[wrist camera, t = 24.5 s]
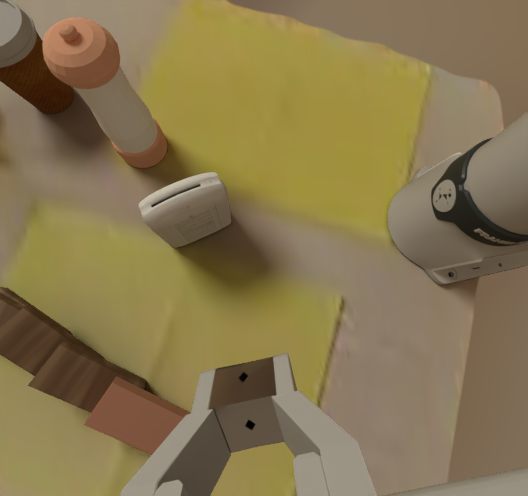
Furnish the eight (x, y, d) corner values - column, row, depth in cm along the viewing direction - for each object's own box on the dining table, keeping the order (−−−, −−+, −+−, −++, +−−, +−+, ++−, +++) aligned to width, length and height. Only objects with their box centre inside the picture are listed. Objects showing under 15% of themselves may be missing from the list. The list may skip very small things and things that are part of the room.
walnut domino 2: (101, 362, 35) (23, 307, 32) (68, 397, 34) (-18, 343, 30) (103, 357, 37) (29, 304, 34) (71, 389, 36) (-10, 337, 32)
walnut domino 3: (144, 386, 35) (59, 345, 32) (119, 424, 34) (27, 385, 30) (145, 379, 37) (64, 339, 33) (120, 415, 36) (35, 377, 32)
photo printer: (224, 199, 43) (214, 157, 30) (236, 224, 42) (230, 190, 30) (161, 227, 41) (124, 194, 29) (172, 253, 40) (139, 229, 28)
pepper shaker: (111, 154, 43) (4, 37, 24) (138, 119, 45) (57, -17, 26) (150, 176, 43) (72, 73, 24) (176, 140, 44) (122, 17, 26)
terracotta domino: (194, 423, 34) (113, 382, 32) (170, 463, 33) (84, 424, 31) (193, 414, 36) (116, 376, 34) (171, 452, 35) (89, 415, 33)
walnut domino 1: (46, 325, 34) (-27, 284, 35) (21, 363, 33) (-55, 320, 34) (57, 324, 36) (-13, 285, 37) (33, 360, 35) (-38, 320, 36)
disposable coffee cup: (51, 133, 43) (-23, 69, 32) (10, 98, 44) (-77, 23, 33) (96, 94, 45) (43, 20, 34) (56, 62, 46) (-10, -22, 35)
